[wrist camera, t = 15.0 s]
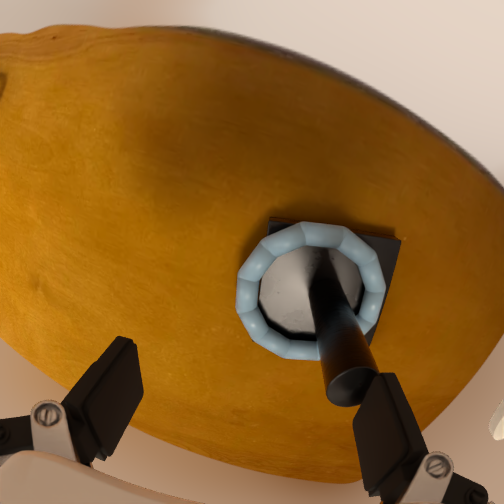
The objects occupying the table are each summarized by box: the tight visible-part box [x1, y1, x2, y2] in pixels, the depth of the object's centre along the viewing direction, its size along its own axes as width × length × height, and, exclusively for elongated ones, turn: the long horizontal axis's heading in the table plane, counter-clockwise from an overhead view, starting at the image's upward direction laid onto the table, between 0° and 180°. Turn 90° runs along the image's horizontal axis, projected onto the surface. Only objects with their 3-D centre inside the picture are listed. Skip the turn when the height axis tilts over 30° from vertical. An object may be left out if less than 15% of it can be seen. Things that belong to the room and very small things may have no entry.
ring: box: [236, 221, 386, 360], centre depth 18 cm, size 10×10×1 cm
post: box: [252, 217, 401, 407], centre depth 15 cm, size 9×9×10 cm
